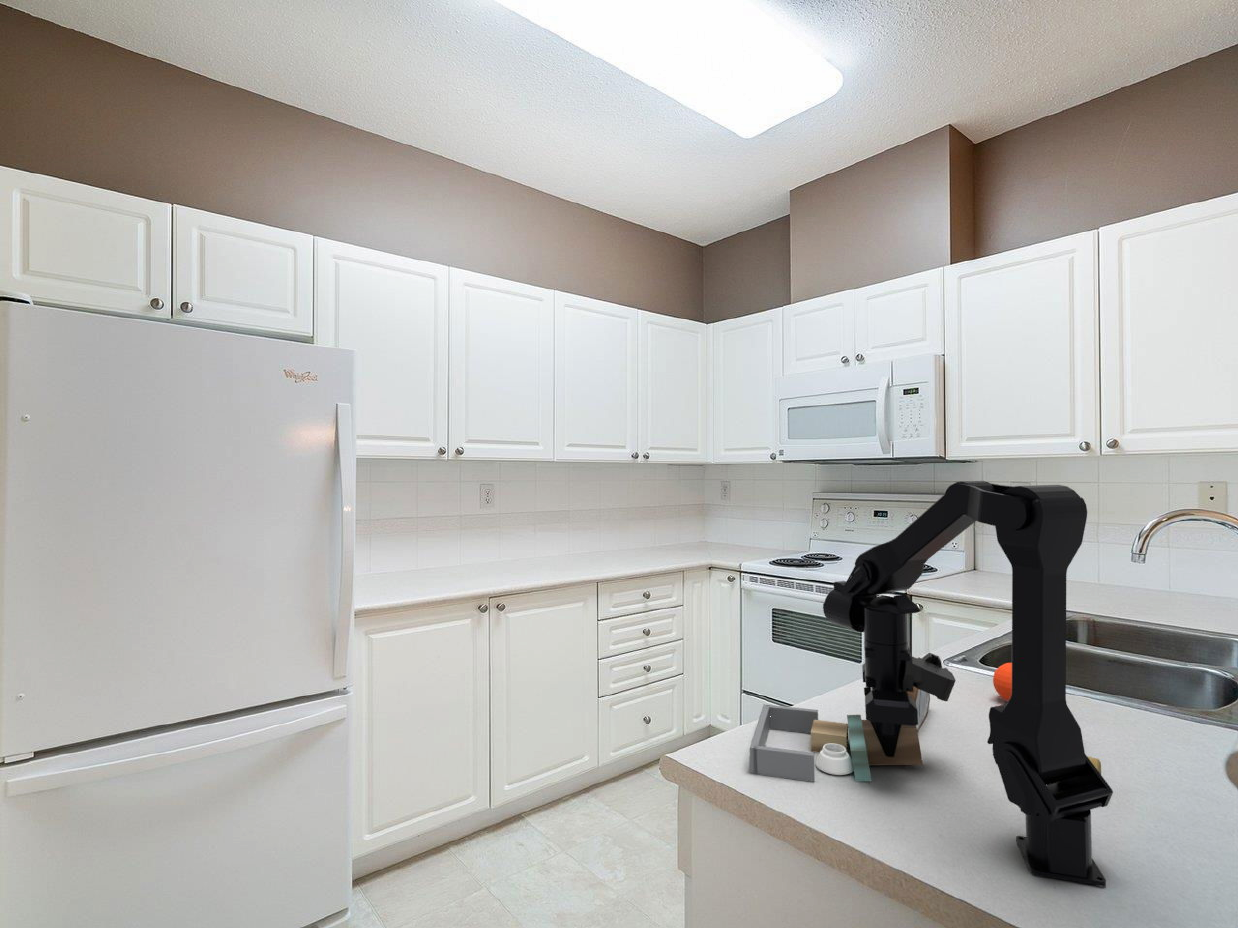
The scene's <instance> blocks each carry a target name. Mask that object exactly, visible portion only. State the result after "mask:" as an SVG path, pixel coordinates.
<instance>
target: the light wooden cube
mask: <svg viewBox="0 0 1238 928" xmlns="http://www.w3.org/2000/svg"><path fill="white" fill-rule="evenodd" d="M848 742H849V730H848V723H844V722H835V721H828V720H822V719H821V720H819V719H818V720H814V722H813V725H812V729H811V734H810V752H813V753H820V751H821V750H822V749H823V746H824V745H825V744H830V743H833V744H839V745H842V746H844V747H845V748H846V752H847V753H848V749H849V743H848Z"/></svg>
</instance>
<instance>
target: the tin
mask: <svg viewBox="0 0 1238 928" xmlns="http://www.w3.org/2000/svg"><path fill="white" fill-rule="evenodd" d="M908 695H909V696H910V697H911V698H912V699H913V700H914V701H915V703H916V706H917V710H918V725H916V727H917V732H918V731H919V729H920V728H921V726H922V725H923V723H924V722H925V719H926V717H927V715H928V712H929V708H930V702H931V696H930V695H931V694H929V693H927V692H924V691H922V690H920V689H917V688H916V687H914V686H913V692H908Z"/></svg>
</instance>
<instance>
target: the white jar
mask: <svg viewBox="0 0 1238 928" xmlns="http://www.w3.org/2000/svg"><path fill="white" fill-rule="evenodd" d="M818 753H819V752H818ZM815 766H816V767H817V768H818V770H820V771H822V772H823V773H826V774H829V775H832V776H844V775H848V774H852V773H854V768H853V762H852V757H850V754H849V753H848V751H847V752H846V748H845V747H844V746H842V745H839V744H833V743H830V744H825V745H824V746H823V749H822V750H821V751H820V753H819V754H818V755H817V758H816V760H815Z"/></svg>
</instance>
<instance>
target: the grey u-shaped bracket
mask: <svg viewBox="0 0 1238 928" xmlns="http://www.w3.org/2000/svg"><path fill="white" fill-rule="evenodd" d="M770 716H771V717H770ZM814 720H819V709H815V708H814V709H812V708H804V707H792V706H785V705H783V706H782V705H773V704H763V705H762V708H761V710H760V714H759V717H758V720H757V723H756V727H755V730H754V733H753V736H752V739H751V742H750V745H749V773H750V774H753V775H761V776H767V777H775V778H784V779H790V780H798V781H804V782H812V783H815V780H816V779H815V773H816V772H815V752H813V751H805V750H804V751H803V750H795V749H786V748H778V747H772V746H766V743H767V740H768V736H769V733H770V730H777V731H786V732H794V733H802V734H809V735H811V729H812V725H813V722H814Z"/></svg>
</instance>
